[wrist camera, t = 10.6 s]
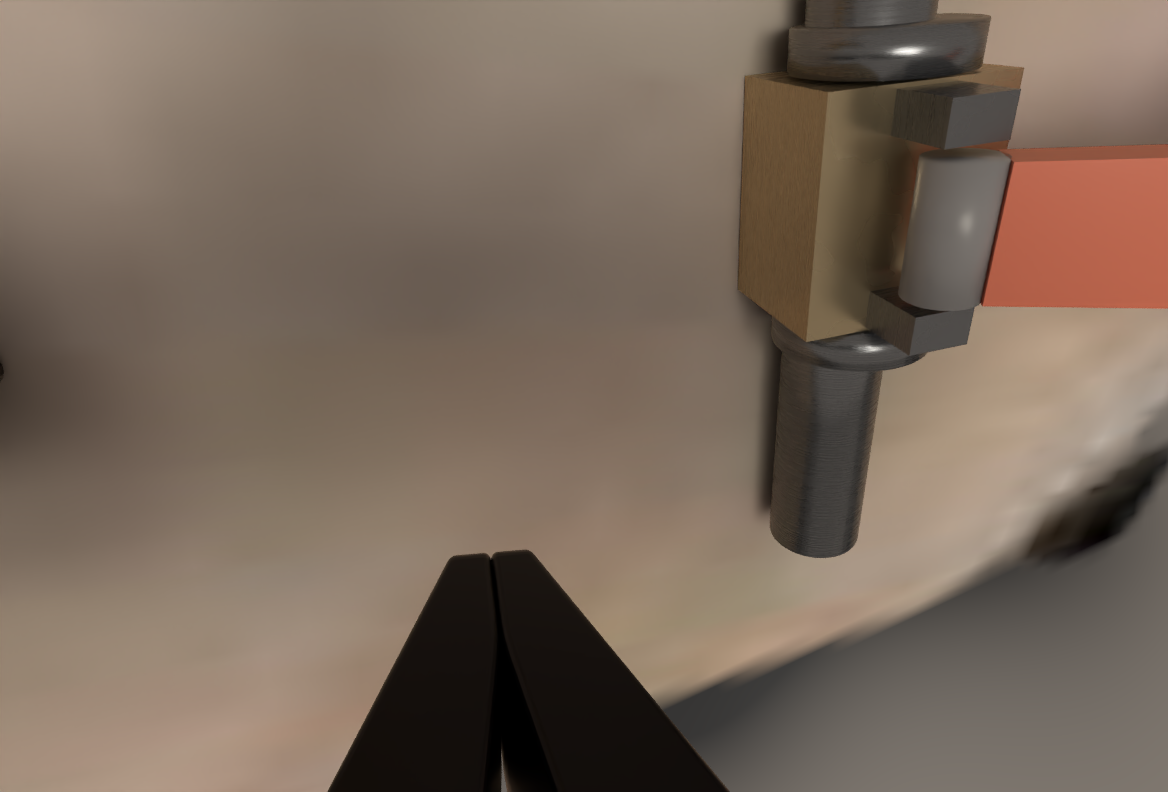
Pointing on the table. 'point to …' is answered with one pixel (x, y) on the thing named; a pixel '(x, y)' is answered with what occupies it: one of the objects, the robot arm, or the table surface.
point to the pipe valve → (851, 229)
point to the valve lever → (1038, 228)
